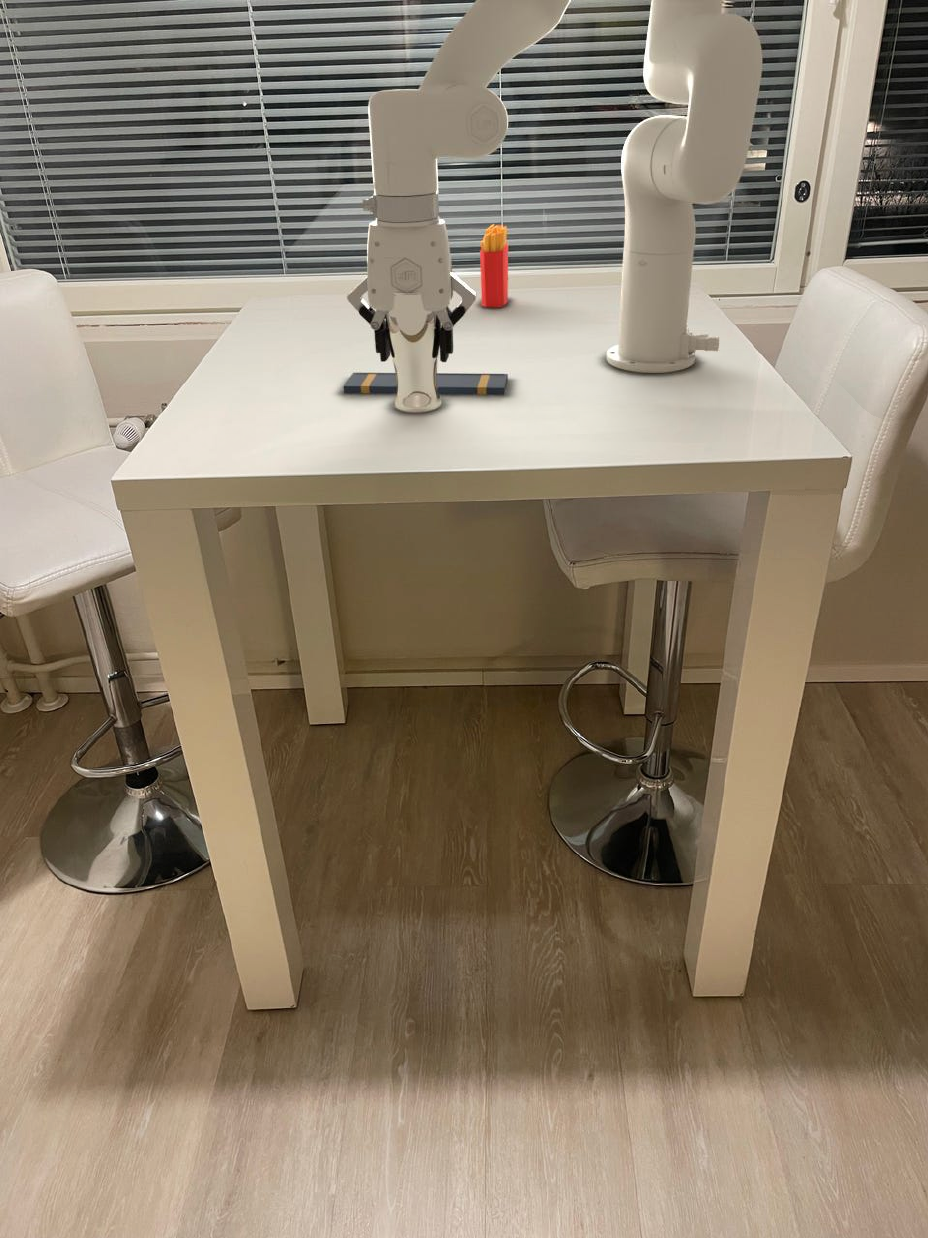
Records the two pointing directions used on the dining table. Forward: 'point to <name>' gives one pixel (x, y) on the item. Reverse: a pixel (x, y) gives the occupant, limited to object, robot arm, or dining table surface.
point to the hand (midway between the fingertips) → (415, 357)
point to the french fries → (494, 267)
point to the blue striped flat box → (445, 381)
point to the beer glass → (414, 353)
